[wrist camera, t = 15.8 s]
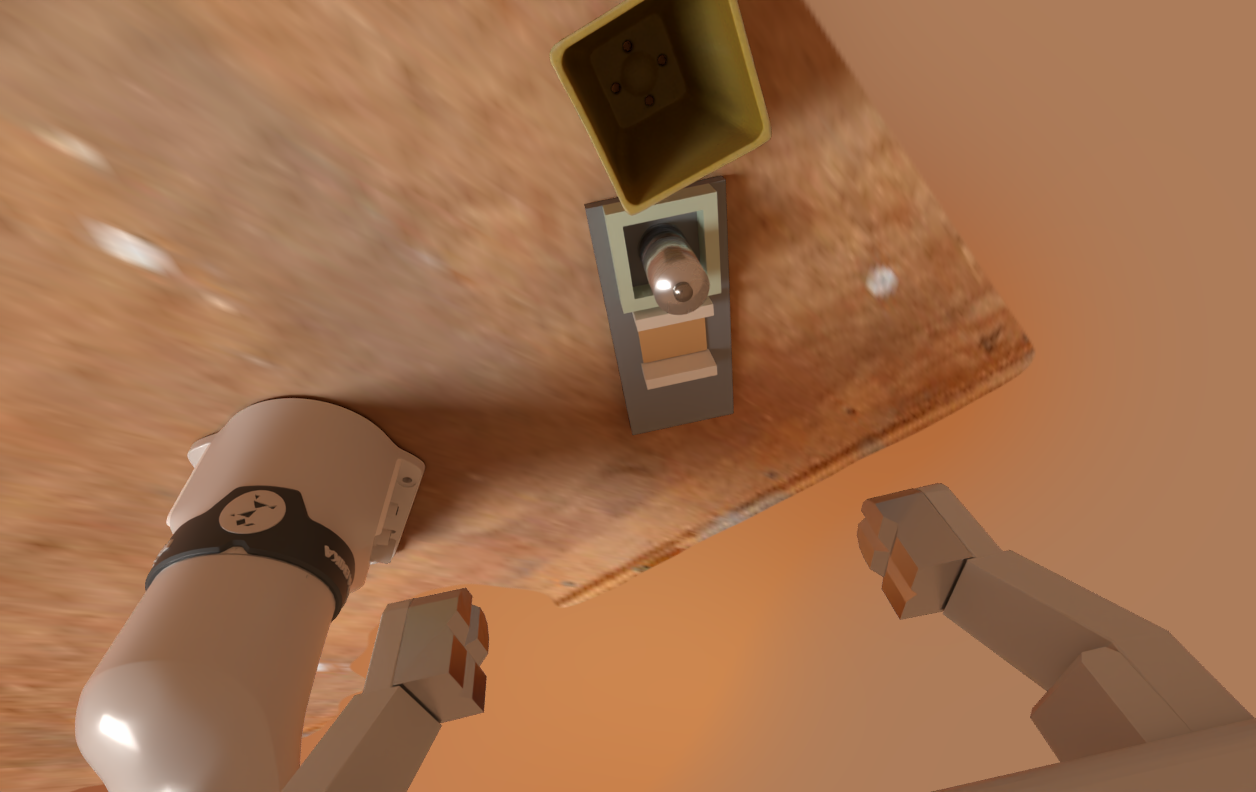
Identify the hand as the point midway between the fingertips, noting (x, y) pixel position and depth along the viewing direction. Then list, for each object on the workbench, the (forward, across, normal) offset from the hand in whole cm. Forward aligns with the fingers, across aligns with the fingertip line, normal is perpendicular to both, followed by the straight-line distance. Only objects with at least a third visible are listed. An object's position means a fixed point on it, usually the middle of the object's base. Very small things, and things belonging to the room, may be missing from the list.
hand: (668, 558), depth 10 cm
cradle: (+31, -5, +14) cm, 35 cm away
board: (+31, -5, +14) cm, 34 cm away
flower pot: (+31, -5, -4) cm, 32 cm away
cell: (+30, -5, +7) cm, 31 cm away
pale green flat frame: (+31, -5, +7) cm, 32 cm away
